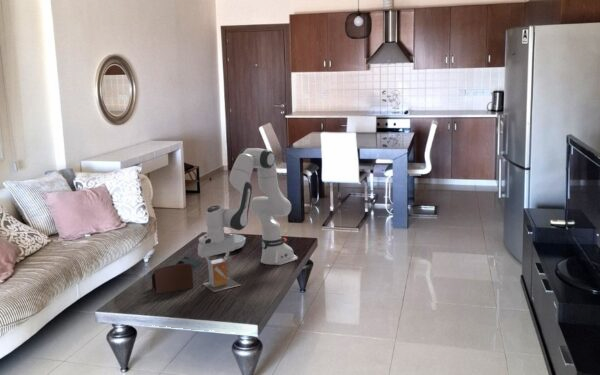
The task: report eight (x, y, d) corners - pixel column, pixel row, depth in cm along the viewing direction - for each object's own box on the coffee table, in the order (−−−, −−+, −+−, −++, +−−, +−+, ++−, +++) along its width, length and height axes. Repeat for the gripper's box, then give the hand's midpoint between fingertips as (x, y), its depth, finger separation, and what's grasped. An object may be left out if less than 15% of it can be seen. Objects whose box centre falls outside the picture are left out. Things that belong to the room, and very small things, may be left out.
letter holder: (193, 287, 311) (192, 262, 308) (156, 294, 303) (154, 268, 300) (188, 281, 320) (187, 257, 317) (152, 288, 312) (150, 263, 309)
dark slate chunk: (166, 274, 334) (165, 266, 333) (180, 261, 355) (179, 254, 354) (192, 275, 331) (191, 267, 330) (204, 262, 353) (203, 254, 352)
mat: (229, 278, 323) (229, 277, 323) (241, 285, 311) (241, 285, 311) (202, 284, 315) (202, 283, 315) (213, 292, 303) (213, 291, 303)
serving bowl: (244, 253, 367) (243, 242, 365) (210, 254, 367) (210, 243, 366) (247, 243, 387) (247, 233, 386) (215, 244, 387) (215, 234, 386)
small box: (214, 287, 308) (212, 264, 306) (209, 284, 314) (207, 261, 311) (228, 284, 313) (226, 261, 310) (223, 280, 318) (221, 258, 315)
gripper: (231, 231, 315) (232, 256, 318) (195, 239, 304) (197, 264, 307) (236, 234, 309) (238, 259, 313) (200, 242, 299) (202, 267, 302)
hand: (217, 261), depth 310 cm, fingers open, 8 cm apart
